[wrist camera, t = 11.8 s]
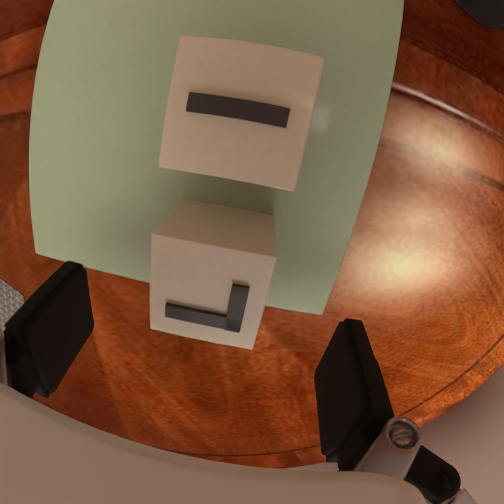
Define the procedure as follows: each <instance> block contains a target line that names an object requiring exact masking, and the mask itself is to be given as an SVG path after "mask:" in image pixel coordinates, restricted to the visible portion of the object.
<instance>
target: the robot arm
mask: <svg viewBox="0 0 504 504" xmlns="http://www.w3.org/2000/svg"><path fill="white" fill-rule="evenodd" d="M4 325H5V328H6V329H5V330H4V331H2V329H1V328H0V504H477V503H476V502H475V501H474V499H473V498H472V497H471V496H470V494H469V493H468V492H467V491H466V490H465V488H464V489H462V490H461V489H460V484H461V483H460V476H459V473H458V472H457V470H456V469H455V468H454V467H453V466H451V465H450V464H448V463H447V462H445V461H444V460H443V459H441V458H440V457H438V456H437V455H435V454H434V453H432V452H430V451H429V450H428V449H427V448H425V447H424V446H422V445H421V442H422V433H421V431H420V428H419V427H418V426H417V424H416V423H415V422H413V421H412V420H411V419H409V418H406V417H401V416H398V417H394V413H393V410H392V406H391V403H390V400H389V396H388V393H387V390H386V386H385V383H384V380H383V377H382V374H381V370H380V367H379V364H378V362H377V360H376V358H375V357H374V354H373V351H372V348H371V345H370V342H369V339H368V336H367V334H366V331H365V328H364V325H363V322H362V321H361V320H355V319H348V318H346V319H345V320H344V321H343V322H339V324H338V326H337V328H336V330H335V332H334V334H333V336H332V338H331V340H330V343H329V345H328V347H327V349H326V351H325V353H324V355H323V357H322V359H321V361H320V363H319V365H318V367H317V369H316V371H315V375H314V382H315V391H316V400H317V410H318V420H319V430H320V441H321V452H322V454H323V455H326V462H338V468H339V470H338V471H304V470H302V471H301V470H286V469H272V468H261V467H251V466H243V465H236V464H229V463H222V462H216V461H211V460H205V459H200V458H195V457H191V456H186V455H181V454H177V453H173V452H169V451H165V450H161V449H157V448H154V447H150V446H147V445H143V444H140V443H137V442H134V441H130V440H127V439H124V438H121V437H118V436H116V435H113V434H110V433H107V432H104V431H102V430H99V429H96V428H94V427H91V426H89V425H86V424H84V423H82V422H79V421H77V420H74V419H72V418H70V417H68V416H65V415H63V414H61V413H59V412H57V411H55V410H53V409H51V408H49V407H47V406H45V405H43V404H41V403H38V402H37V401H35V400H34V399H33V395H34V394H35V392H36V393H37V394H39V395H41V396H43V397H45V398H48V397H49V395H50V393H53V392H55V390H56V389H57V387H58V385H59V384H60V382H61V380H62V379H63V377H64V375H65V374H66V372H67V370H68V369H69V367H70V366H71V364H72V362H73V361H74V359H75V357H76V356H77V354H78V353H79V351H80V350H81V348H82V346H83V345H84V343H85V342H86V340H87V339H88V337H89V336H90V334H91V333H92V331H93V328H94V320H93V314H92V308H91V302H90V295H89V288H88V280H87V272H86V269H84V268H83V265H82V264H81V263H77V262H73V261H67V262H65V263H64V264H63V265H62V266H61V267H60V268H59V269H58V270H57V271H56V272H55V273H54V274H53V275H52V276H51V277H50V278H49V279H47V280H46V281H45V282H44V283H43V284H42V285H41V286H40V287H39V288H38V289H37V290H36V291H35V292H34V293H33V294H32V295H31V296H30V298H29V299H28V300H27V301H26V302H25V303H24V304H23V305H22V306H21V307H20V308H19V309H18V310H17V311H16V312H15V313H14V314H13V316H12V317H11V318H10V319H9V320H8V321H7V322H6V323H5V324H4Z"/></svg>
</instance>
